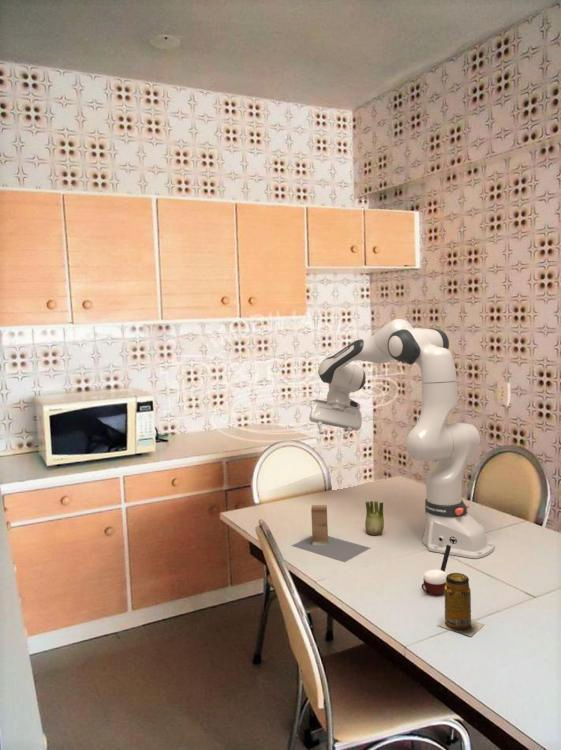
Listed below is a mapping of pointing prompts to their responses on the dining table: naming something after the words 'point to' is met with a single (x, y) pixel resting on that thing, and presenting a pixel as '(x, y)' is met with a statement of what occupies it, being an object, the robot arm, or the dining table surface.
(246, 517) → the dining table surface
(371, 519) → the fennel bulb
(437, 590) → the cocoa
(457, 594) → the condiment
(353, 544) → the felt mat
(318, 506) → the walnut block
